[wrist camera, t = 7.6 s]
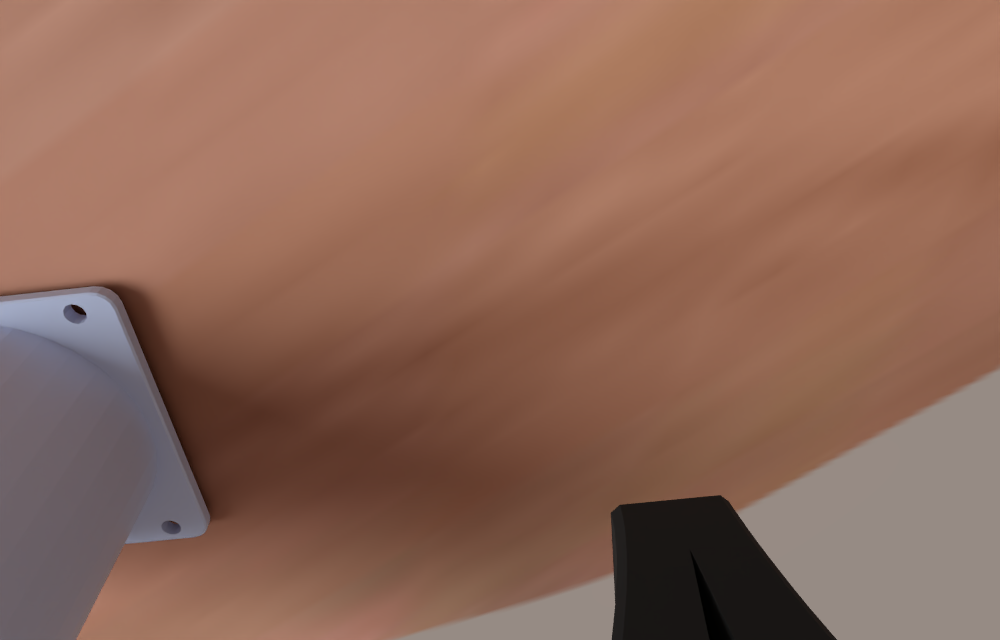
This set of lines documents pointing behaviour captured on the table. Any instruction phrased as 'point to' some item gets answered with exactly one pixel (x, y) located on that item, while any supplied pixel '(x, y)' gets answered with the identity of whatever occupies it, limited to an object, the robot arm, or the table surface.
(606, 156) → the table surface
